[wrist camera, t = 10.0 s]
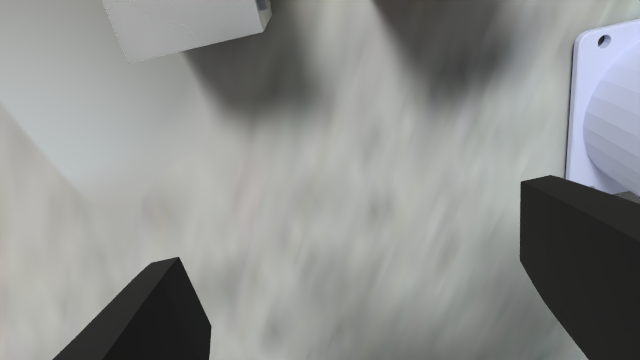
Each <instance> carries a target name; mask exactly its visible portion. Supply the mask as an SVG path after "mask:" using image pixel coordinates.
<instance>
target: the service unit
mask: <svg viewBox="0 0 640 360" xmlns="http://www.w3.org/2000/svg"><path fill="white" fill-rule="evenodd" d="M102 2H103V5H104V7H105V10H106V12H107V15H108V17H109V19H110V22H111V24H112V26H113V29H114V31H115V34H116V36H117V38H118V40H119V43H120V45H121V48H122V50H123V53H124V55H125V57H126V60H127V62H128V63H133V62H138V61H142V60H146V59H151V58H154V57H159V56H163V55H168V54H171V53H176V52H180V51H185V50H189V49H193V48H197V47H202V46H206V45H210V44H214V43H219V42H223V41H227V40H231V39H236V38H240V37H244V36H248V35H253V34H257V33H261V32H263V31H264V29H265V27H266V25H267V23H268V21H269V19H270V18H271V16H272V10H271V6H270V4H271V2H270V0H102Z"/></svg>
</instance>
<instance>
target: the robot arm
mask: <svg viewBox="0 0 640 360" xmlns="http://www.w3.org/2000/svg"><path fill="white" fill-rule="evenodd" d="M603 35H604V37H605V39H604V42H603V43H602V44H601V45H600V46H598V40H599V39H600V37H601V36H603ZM589 186H590V187H589ZM627 191H631V192H633V193H634V194H636V195H637V196H639V197H640V19H635V20H631V21H627V22H622V23H618V24H613V25H609V26H604V27H600V28H596V29H591V30H587V31H585V32H582V33H581V34H580V35H579V36H578V37H577V39H576V40H575V44H574V54H573V70H572V86H571V101H570V117H569V133H568V149H567V164H566V179H563V178H560V177H556V176H552V175H549V176H545V177H540V178H535V179H531V180H526V181H522V182H521V201H520V261H521V263H522V265H523V267H524V269H525V270H526V272H527V274H528V276H529V277H530V279H531V281H532V283H533V284H534V286H535V288H536V289H537V291H538V292H539V294H540V296H541V297H542V299H543V301H544V302H545V304H546V305H547V306H548V308H549V309H550V310H551V312H552V313H553V314H554V316H555V317H556V318H557V319H558V321H559V322H560V323H561V325H562V326H563V327H564V328H565V330H566V331H567V332H568V334H569V335H570V336H571V338H572V339H573V340H574V341H575V343H576V344H577V345H578V346H579V348H580V349H581V350H582V352H583V353H584V354H585V355H586V357H587V358H588V359H589V360H640V204H638V203H635V202H632V201H629V200H626V199H623V198H620V197H618V196H615V195H612V194H617V193H622V192H627ZM210 339H211V324H210V322H209V320H208V318H207V316H206V314H205V312H204V309H203V307H202V305H201V303H200V301H199V299H198V296H197V294H196V292H195V290H194V288H193V286H192V284H191V281H190V279H189V277H188V275H187V273H186V271H185V269H184V266H183V264H182V262H181V260H180V258H179V257H176V258H171V259H167V260H162V261H158V262H153V263H151V264H149V265H148V266H147V267H146V268H145V269H144V270H142V271H141V272H140V273H139V274H138V275H137V276H136V277H135V278H134V279H133V280H132V281H131V282H130V283H129V284H128V285H127V286H126V287H125V288H124V289H123V290H122V291H121V292H120V293H119V294H118V295H117V296H116V297H115V298H114V299H113V300H112V301H111V302H110V303H109V304H108V305H107V306H106V307H105V308H104V309H103V310H102V311H101V312H100V313H99V314H98V315H97V316H96V317H95V318H94V319H93V320H92V321H91V322H90V323H89V324H88V325H87V326H86V327H85V328H84V329H83V330H82V331H81V332H80V333H79V334H78V335H77V336H76V337H75V338H74V339H73V340H72V341H71V342H70V343H69V344H68V345H67V346H66V347H65V348H64V349H63V350H62V351H61V352H60V353H59V354H58V355H57V356H56V357H55V358H54V359H53V360H209V354H210Z"/></svg>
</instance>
